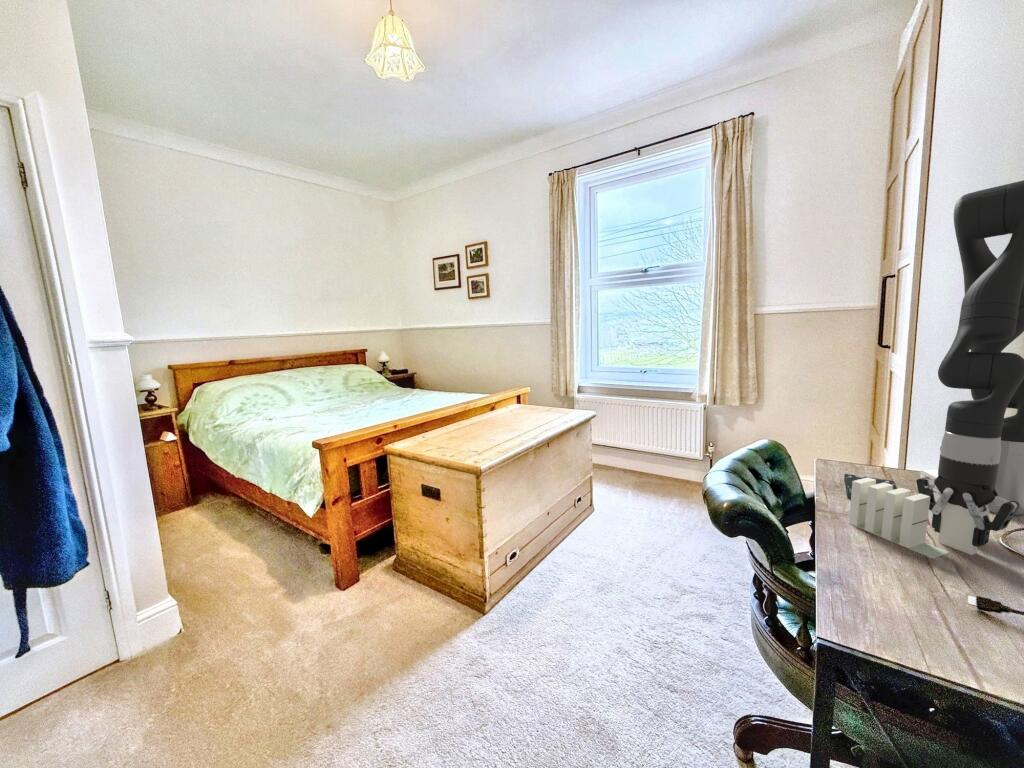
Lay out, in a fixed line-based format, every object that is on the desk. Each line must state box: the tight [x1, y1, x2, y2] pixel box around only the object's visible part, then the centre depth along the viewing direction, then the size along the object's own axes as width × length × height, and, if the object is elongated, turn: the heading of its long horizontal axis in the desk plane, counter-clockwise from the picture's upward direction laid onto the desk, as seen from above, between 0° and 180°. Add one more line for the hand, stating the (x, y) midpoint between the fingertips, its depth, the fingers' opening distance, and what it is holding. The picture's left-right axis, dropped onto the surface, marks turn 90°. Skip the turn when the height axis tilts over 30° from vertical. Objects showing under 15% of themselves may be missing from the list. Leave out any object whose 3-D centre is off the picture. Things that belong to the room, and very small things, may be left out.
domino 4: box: [898, 493, 930, 549], centre depth 81 cm, size 5×2×10 cm, turn 108°
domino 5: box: [937, 502, 983, 556], centre depth 79 cm, size 5×2×10 cm, turn 18°
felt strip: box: [846, 521, 950, 559], centre depth 84 cm, size 5×15×1 cm, turn 18°
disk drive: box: [843, 473, 898, 500], centre depth 105 cm, size 10×3×15 cm
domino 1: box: [848, 477, 876, 527], centre depth 90 cm, size 5×2×10 cm, turn 108°
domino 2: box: [864, 482, 893, 534], centre depth 87 cm, size 5×2×10 cm, turn 108°
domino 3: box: [881, 487, 912, 541], centre depth 84 cm, size 5×2×10 cm, turn 108°
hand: (957, 537), depth 79 cm, fingers closed on domino 5, 5 cm apart
